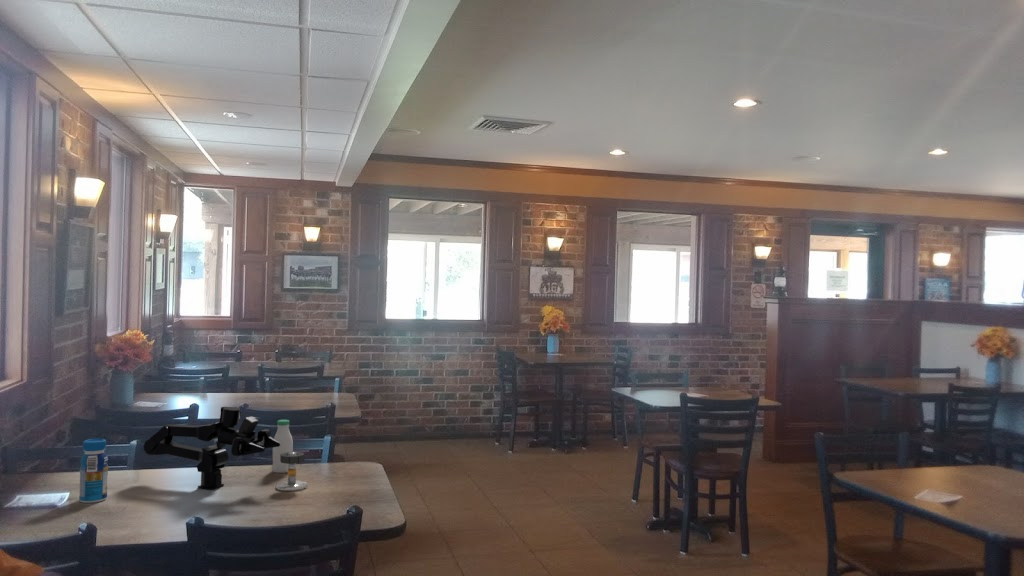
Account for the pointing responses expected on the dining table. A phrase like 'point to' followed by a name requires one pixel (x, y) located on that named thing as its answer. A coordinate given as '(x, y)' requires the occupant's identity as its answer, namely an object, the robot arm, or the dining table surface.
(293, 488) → the pipe stand
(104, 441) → the beverage bottle
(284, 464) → the milk bottle
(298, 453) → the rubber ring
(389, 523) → the dining table surface
